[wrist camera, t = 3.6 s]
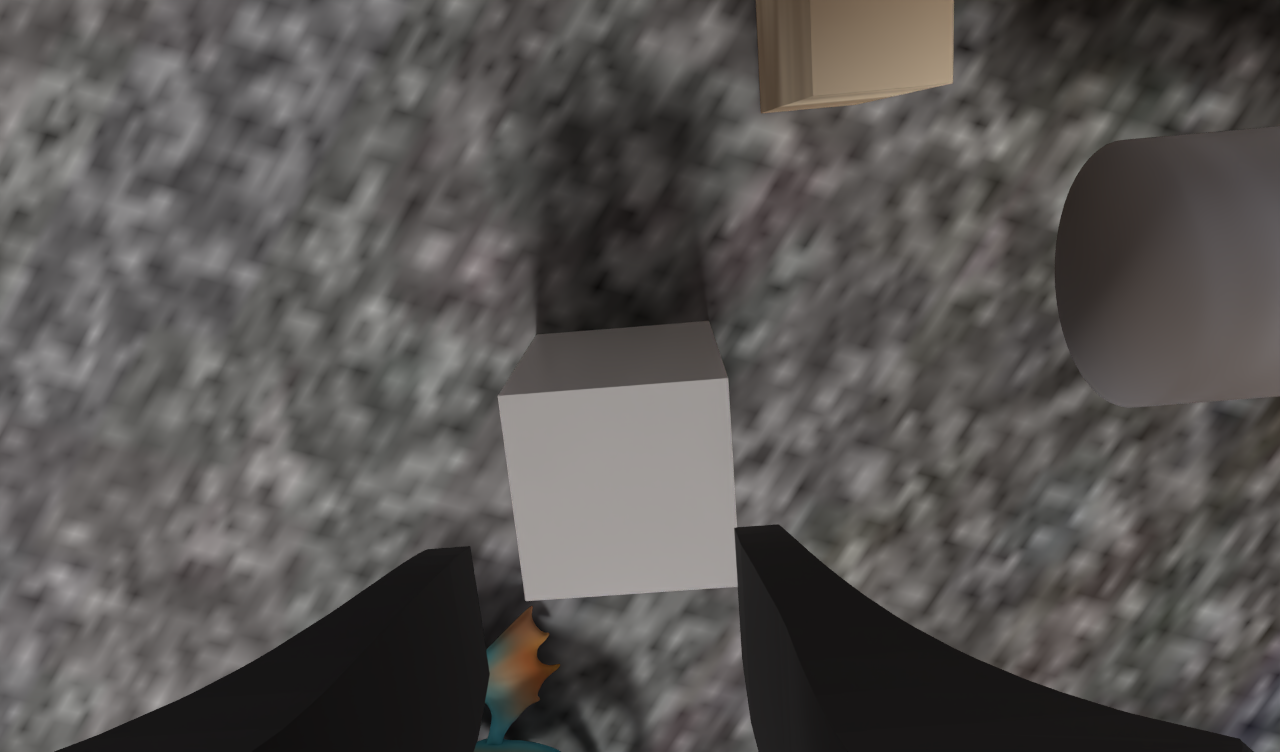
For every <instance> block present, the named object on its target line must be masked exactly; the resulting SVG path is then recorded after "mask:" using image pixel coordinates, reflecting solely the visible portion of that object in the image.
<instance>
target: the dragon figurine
mask: <svg viewBox="0 0 1280 752" xmlns="http://www.w3.org/2000/svg"><path fill="white" fill-rule="evenodd" d="M532 609H533V606H531V607H529V608H528V609H527V610H526V611H524V612H523V613H522V614H521V615H520V616H519V617H518V618H517V619H516V620H515V621H514V622H513V623H512V624H511V625H510V626H509V627H508V628H507V629H506V630H505V631H504V632H503V633H502V634H501V635H500V636H499V637H498V638H497V639H496V640H495V641H494V643H493V644H492V645H491V646H490V647H489V648H488V649H487V650H486V652H487V659H488V665H489V672H490V676H489V682H488V688H487V693H486V699H485V703H486V704H487V705H488V707H489V709H490V711H491V714H492V721H491V726H490V731H489V735H488V738H487V739H484V740H481V741H478V742H477V743H476V746H475V749H474V752H561V751H559V750H557V749H554V748H552V747H549V746H546V745H543V744H539V743H535V742H529V741H523V740H506V739H504V735H505V733H506V732H507V730H508V728H509V727H510V725H511V724H512V723H513V722H514V721H515V720H516V719H517V718H518V717H519V716H520V714H521V713H522V712H523V711H524V710H525V709H526V708H527V707H528V706H529V705H531V704H533V703H535V702H537V701H539V700H540V698H539V697H538V695H537V694H538V691H539V689H540V687H541V685H542V683H543V682H544V680H545V679H546V678H547V677H548V676H549V675H550V674H552V673H553V672H554V671H556V670H557V669H558V668H559V667H560V664H555V665H546V664H543V663H541V662H540V661H539V660H538V658H537V650H538V647H539V646H540V645H541V644H542V643H543V642H544V641H545V640H546V639H547V637H548V636H549V633H544V632H542V631H541V630H539V629H538V627H537V626H536V625H535V623H534V622H533V619H532Z"/></svg>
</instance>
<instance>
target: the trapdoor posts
mask: <svg viewBox="0 0 1280 752" xmlns="http://www.w3.org/2000/svg"><path fill="white" fill-rule="evenodd" d="M756 16H757V38H758V60H759V82H760V104H761V113H770V112H781V111H792V110H803V109H814V108H825V107H836V106H847V105H856V104H861V103H865V102H870V101H874V100H879V99H883V98H888V97H892V96H897V95H902V94H906V93H911V92H915V91H920V90H924V89H929V88H933V87H938V86H942V85H947V84H951V83H953V33H954V0H756Z"/></svg>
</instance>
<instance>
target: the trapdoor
mask: <svg viewBox="0 0 1280 752" xmlns="http://www.w3.org/2000/svg"><path fill="white" fill-rule="evenodd" d="M1055 289H1056V298H1057V306H1058V312H1059V318H1060V322H1061V326H1062V330H1063V334H1064V337H1065V340H1066V343H1067V346H1068V349H1069V351H1070V354H1071V356H1072V358H1073V360H1074V362H1075V364H1076V366H1077V368H1078V370H1079V371H1080V373H1081V375H1082V376H1083V378H1084V379H1085V381H1086V382H1087V383H1088V384H1089V385H1090V387H1091V388H1092V389H1093V390H1094V391H1095V392H1096V393H1097V394H1098V395H1099V396H1101V397H1102V398H1104V399H1105V400H1107V401H1108V402H1110V403H1113V404H1115V405H1117V406H1122V407H1144V406H1158V405H1171V404H1184V403H1197V402H1210V401H1223V400H1237V399H1250V398H1263V397H1276V396H1280V126H1276V127H1264V128H1253V129H1242V130H1230V131H1219V132H1208V133H1196V134H1185V135H1174V136H1162V137H1151V138H1140V139H1128V140H1120V141H1115V142H1112V143H1110V144H1107V145H1105V146H1104V147H1102V148H1101V149H1099V150H1098V151H1097V152H1096V153H1094V154H1093V155H1092V156H1091V157H1090V158H1089V159H1088V161H1087V162H1086V163H1085V164H1084V166H1083V167H1082V168H1081V170H1080V172H1079V173H1078V175H1077V176H1076V178H1075V180H1074V182H1073V184H1072V186H1071V188H1070V191H1069V193H1068V196H1067V199H1066V201H1065V204H1064V208H1063V211H1062V215H1061V219H1060V224H1059V229H1058V235H1057V242H1056V253H1055Z"/></svg>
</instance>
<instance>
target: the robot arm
mask: <svg viewBox="0 0 1280 752" xmlns="http://www.w3.org/2000/svg"><path fill="white" fill-rule="evenodd" d="M734 533H735V550H736V566H737V582H738V598H739V614H740V631H741V647H742V660H743V668H744V675H745V682H746V690H747V697H748V704H749V711H750V718H751V724H752V728H753V732H754V735H755V739H756V743H757V747H758V751H759V752H1253V751H1252V750H1251V749H1250V748H1249V747H1248V746H1247V745H1246V744H1244V743H1243V742H1242V741H1241V740H1240V739H1238V738H1234V737H1230V736H1225V735H1221V734H1217V733H1212V732H1208V731H1204V730H1200V729H1195V728H1191V727H1187V726H1182V725H1178V724H1174V723H1170V722H1165V721H1161V720H1157V719H1152V718H1148V717H1144V716H1140V715H1135V714H1131V713H1128V712H1124V711H1120V710H1117V709H1114V708H1110V707H1107V706H1104V705H1101V704H1098V703H1094V702H1091V701H1088V700H1085V699H1081V698H1078V697H1075V696H1072V695H1069V694H1065V693H1062V692H1059V691H1057V690H1054V689H1051V688H1048V687H1045V686H1043V685H1040V684H1037V683H1034V682H1031V681H1029V680H1026V679H1023V678H1021V677H1019V676H1016V675H1014V674H1011V673H1009V672H1007V671H1004V670H1002V669H999V668H997V667H995V666H992V665H990V664H987V663H985V662H983V661H980V660H978V659H976V658H974V657H971V656H969V655H967V654H965V653H963V652H961V651H959V650H956V649H954V648H952V647H950V646H949V645H947V644H945V643H943V642H941V641H939V640H937V639H936V638H934V637H932V636H930V635H928V634H926V633H924V632H922V631H921V630H919V629H917V628H915V627H913V626H911V625H910V624H908V623H906V622H905V621H903V620H901V619H900V618H898V617H896V616H895V615H893V614H892V613H890V612H889V611H887V610H886V609H884V608H883V607H881V606H880V605H878V604H877V603H875V602H874V601H872V600H871V599H869V598H868V597H866V596H865V595H863V594H862V593H861V592H859V591H858V590H857V589H855V588H854V587H853V586H851V585H850V584H848V583H847V582H846V581H845V580H843V579H842V578H841V577H839V576H838V575H837V574H836V573H834V572H833V571H832V570H831V569H829V568H828V567H827V566H826V565H824V564H823V563H822V562H821V561H820V560H818V559H817V558H816V557H815V556H814V555H813V554H812V553H810V552H809V551H808V550H807V549H806V548H805V547H804V546H802V545H801V544H800V543H799V542H798V541H797V540H796V539H795V538H793V537H792V536H791V535H790V534H789V533H788V532H787V531H786V530H784V529H783V528H782V527H781V526H780V525H765V526H751V527H737V528H734ZM489 676H490V672H489V665H488V659H487V652H486V646H485V639H484V633H483V627H482V620H481V614H480V607H479V601H478V594H477V588H476V581H475V575H474V568H473V562H472V555H471V549H470V546H468V547H454V548H440V549H427V550H425V551H423V552H421V553H419V554H417V555H416V556H414V557H412V558H411V559H409V560H407V561H406V562H404V563H403V564H401V565H400V566H398V567H397V568H395V569H394V570H392V571H391V572H389V573H388V574H387V575H385V576H384V577H382V578H381V579H379V580H378V581H376V582H375V583H374V584H372V585H371V586H369V587H368V588H366V589H365V590H363V591H362V592H361V593H359V594H358V595H356V596H355V597H353V598H352V599H350V600H349V601H347V602H346V603H345V604H343V605H342V606H340V607H339V608H337V609H336V610H334V611H333V612H331V613H330V614H328V615H327V616H325V617H324V618H322V619H321V620H319V621H317V622H316V623H314V624H313V625H311V626H309V627H308V628H306V629H305V630H303V631H302V632H300V633H298V634H297V635H295V636H294V637H292V638H290V639H289V640H287V641H286V642H284V643H283V644H281V645H279V646H278V647H276V648H275V649H273V650H271V651H270V652H268V653H266V654H265V655H263V656H261V657H260V658H258V659H256V660H254V661H253V662H251V663H249V664H247V665H245V666H244V667H242V668H240V669H238V670H236V671H235V672H233V673H231V674H229V675H227V676H225V677H223V678H221V679H219V680H217V681H215V682H213V683H211V684H209V685H207V686H206V687H204V688H202V689H200V690H198V691H196V692H194V693H192V694H190V695H188V696H186V697H183V698H181V699H179V700H177V701H175V702H172V703H170V704H168V705H166V706H163V707H161V708H159V709H156V710H154V711H152V712H150V713H147V714H145V715H143V716H140V717H138V718H136V719H134V720H131V721H129V722H127V723H124V724H122V725H120V726H118V727H115V728H113V729H111V730H108V731H106V732H104V733H102V734H99V735H97V736H94V737H92V738H89V739H87V740H84V741H81V742H79V743H76V744H73V745H71V746H68V747H65V748H63V749H60V750H57V751H55V752H474V749H475V746H476V743H477V740H478V736H479V731H480V726H481V721H482V716H483V711H484V705H485V699H486V693H487V688H488V682H489Z"/></svg>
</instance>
